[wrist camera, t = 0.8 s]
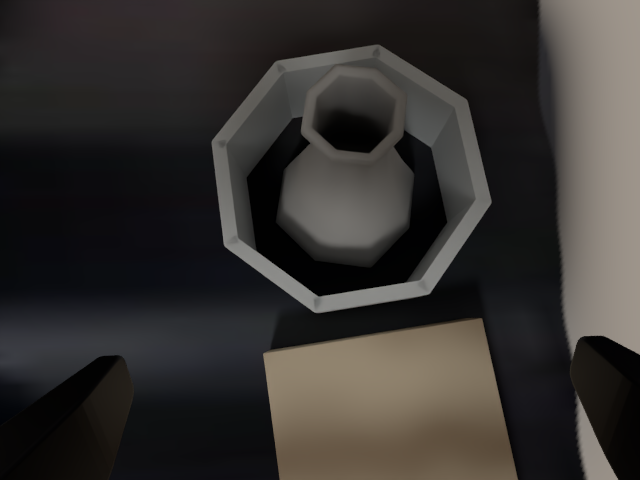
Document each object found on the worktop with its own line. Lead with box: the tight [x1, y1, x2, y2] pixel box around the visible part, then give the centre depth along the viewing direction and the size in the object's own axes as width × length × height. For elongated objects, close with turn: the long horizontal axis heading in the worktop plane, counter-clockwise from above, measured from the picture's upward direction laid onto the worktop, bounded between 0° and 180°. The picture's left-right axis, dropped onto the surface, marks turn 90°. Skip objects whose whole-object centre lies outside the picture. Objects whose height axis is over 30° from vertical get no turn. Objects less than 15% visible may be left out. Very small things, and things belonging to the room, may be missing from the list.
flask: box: [276, 64, 415, 268], centre depth 18 cm, size 7×7×10 cm
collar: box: [212, 45, 491, 313], centre depth 20 cm, size 11×11×4 cm
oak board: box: [263, 318, 518, 480], centre depth 19 cm, size 11×10×2 cm
